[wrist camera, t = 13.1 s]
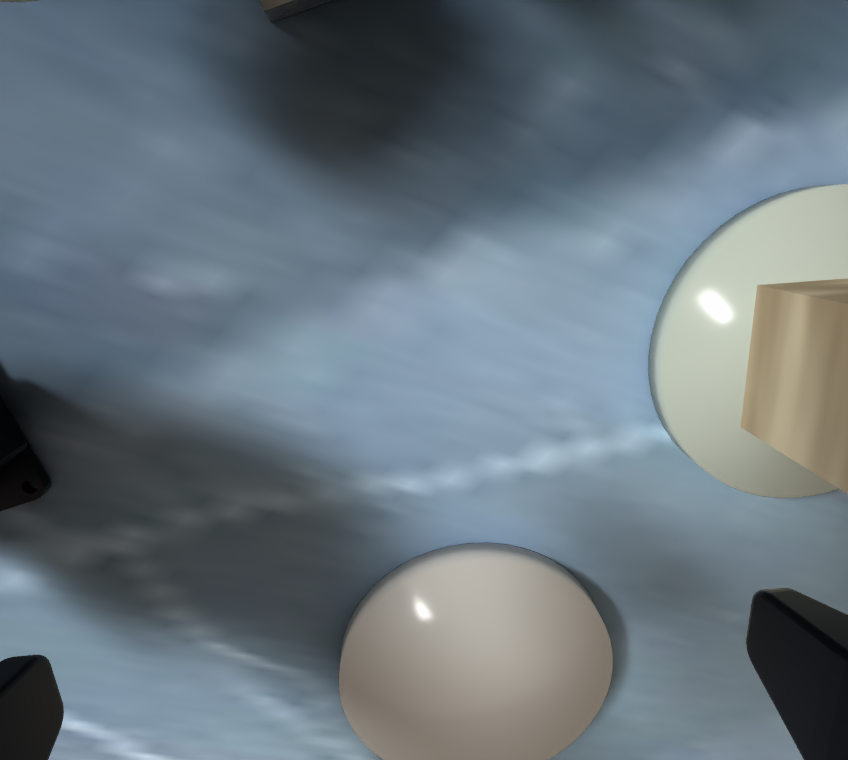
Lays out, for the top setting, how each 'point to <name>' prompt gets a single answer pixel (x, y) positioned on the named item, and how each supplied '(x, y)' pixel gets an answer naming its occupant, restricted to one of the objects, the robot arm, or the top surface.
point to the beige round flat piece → (740, 333)
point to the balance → (268, 7)
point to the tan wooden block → (801, 375)
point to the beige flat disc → (474, 658)
